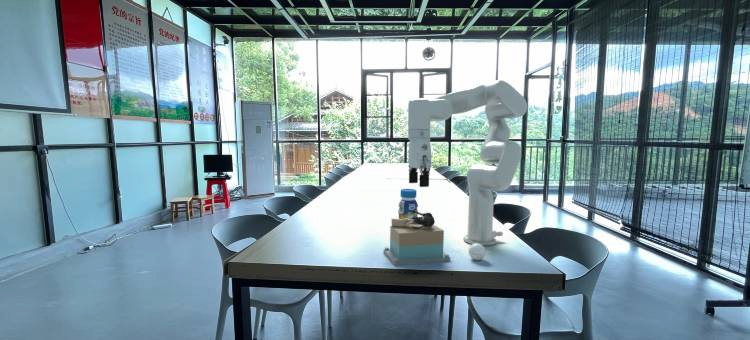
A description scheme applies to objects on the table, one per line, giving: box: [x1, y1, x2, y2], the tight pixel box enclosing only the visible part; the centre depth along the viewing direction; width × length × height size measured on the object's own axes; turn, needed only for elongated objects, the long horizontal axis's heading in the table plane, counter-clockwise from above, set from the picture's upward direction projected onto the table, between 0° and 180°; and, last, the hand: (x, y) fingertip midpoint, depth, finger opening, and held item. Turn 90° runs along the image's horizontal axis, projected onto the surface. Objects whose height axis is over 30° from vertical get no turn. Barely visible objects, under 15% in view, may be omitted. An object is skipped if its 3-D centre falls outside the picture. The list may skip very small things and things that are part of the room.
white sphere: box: [468, 243, 491, 261], centre depth 110 cm, size 8×6×6 cm
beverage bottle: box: [397, 188, 419, 225], centre depth 138 cm, size 8×8×20 cm
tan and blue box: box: [383, 224, 451, 267], centre depth 113 cm, size 20×13×10 cm, turn 104°
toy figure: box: [391, 211, 436, 229], centre depth 114 cm, size 7×6×15 cm
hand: (418, 184), depth 112 cm, fingers open, 9 cm apart
